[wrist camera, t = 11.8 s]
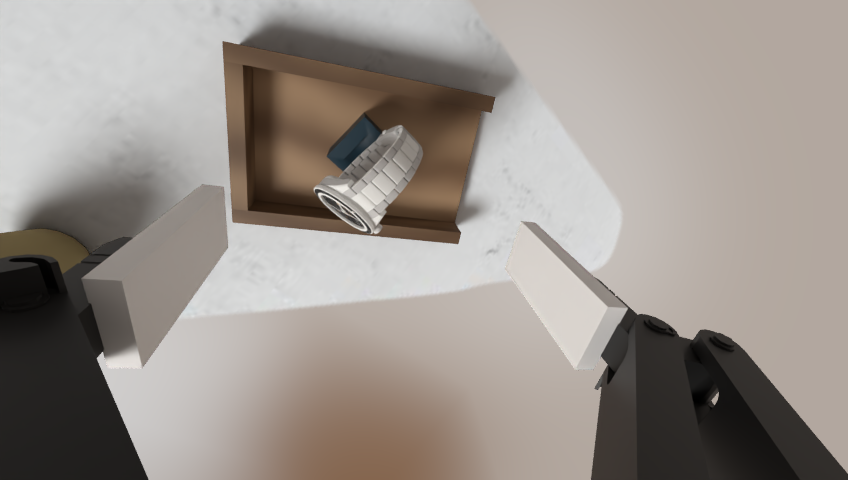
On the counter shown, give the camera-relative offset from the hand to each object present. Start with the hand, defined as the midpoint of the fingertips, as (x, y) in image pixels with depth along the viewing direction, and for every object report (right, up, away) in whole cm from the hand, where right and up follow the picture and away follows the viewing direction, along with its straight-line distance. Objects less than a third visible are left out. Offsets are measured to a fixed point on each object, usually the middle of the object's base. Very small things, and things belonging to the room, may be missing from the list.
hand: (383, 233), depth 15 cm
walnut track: (-4, +8, +16) cm, 18 cm away
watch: (-3, +7, +15) cm, 17 cm away
